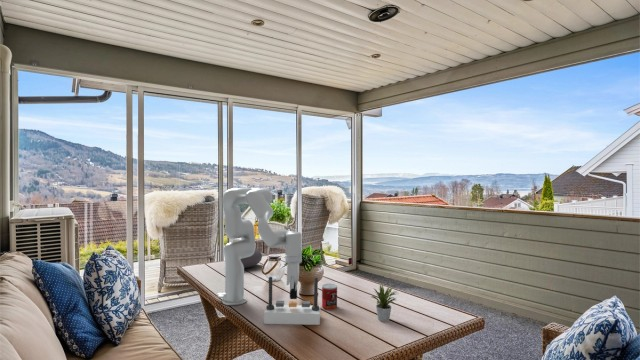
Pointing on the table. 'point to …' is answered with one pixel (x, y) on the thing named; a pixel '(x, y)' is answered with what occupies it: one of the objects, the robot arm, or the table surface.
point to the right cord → (315, 295)
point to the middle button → (292, 303)
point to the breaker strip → (292, 315)
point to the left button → (279, 303)
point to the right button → (305, 303)
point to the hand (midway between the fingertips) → (293, 298)
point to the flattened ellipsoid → (252, 259)
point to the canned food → (329, 296)
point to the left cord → (270, 296)
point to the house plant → (384, 303)
